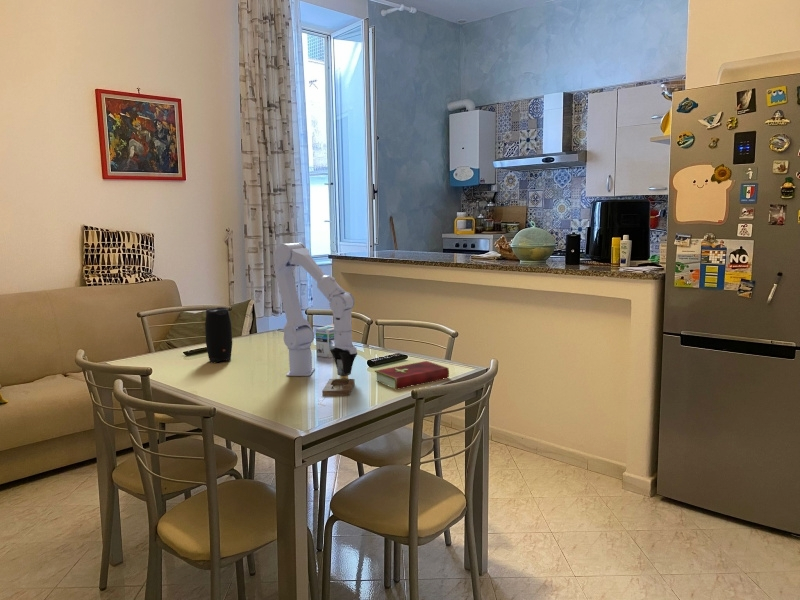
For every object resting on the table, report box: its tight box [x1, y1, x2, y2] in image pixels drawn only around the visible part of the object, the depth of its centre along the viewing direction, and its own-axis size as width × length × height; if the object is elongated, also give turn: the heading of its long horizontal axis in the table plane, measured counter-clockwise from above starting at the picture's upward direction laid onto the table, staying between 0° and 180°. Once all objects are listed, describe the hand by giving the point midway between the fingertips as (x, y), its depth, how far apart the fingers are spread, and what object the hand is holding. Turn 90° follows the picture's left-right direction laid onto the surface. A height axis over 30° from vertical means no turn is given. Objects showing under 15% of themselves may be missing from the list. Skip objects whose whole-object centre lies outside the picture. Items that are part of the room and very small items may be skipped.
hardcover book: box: [374, 360, 450, 390], centre depth 196 cm, size 12×21×4 cm, turn 125°
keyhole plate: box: [321, 378, 356, 397], centre depth 186 cm, size 13×8×2 cm, turn 177°
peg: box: [336, 358, 352, 379], centre depth 197 cm, size 4×4×7 cm
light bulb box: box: [315, 323, 334, 359], centre depth 232 cm, size 11×7×11 cm, turn 148°
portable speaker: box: [204, 306, 233, 363], centre depth 224 cm, size 9×9×20 cm
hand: (344, 371), depth 197 cm, fingers closed on peg, 4 cm apart
